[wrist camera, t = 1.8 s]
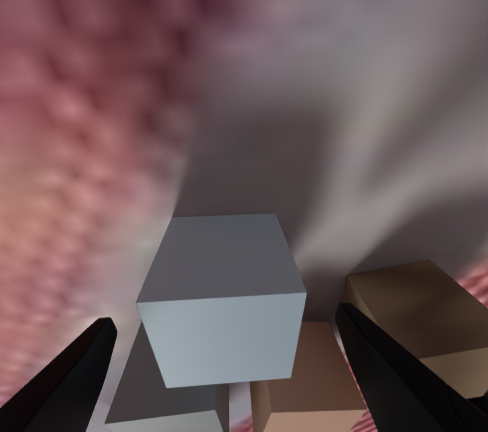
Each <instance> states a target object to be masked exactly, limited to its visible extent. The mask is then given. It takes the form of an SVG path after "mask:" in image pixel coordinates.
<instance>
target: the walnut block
mask: <svg viewBox="0 0 488 432" xmlns="http://www.w3.org/2000/svg"><path fill="white" fill-rule="evenodd" d="M345 302H350V303H352V304H353V305H354V306H355V307H357V308H358V309H359V310H360V311H361V312H363V313H364V314H365V315H366V316H367V317H369V318H370V319H371V320H372V321H373V322H374V323H376V324H377V325H378V326H379V327H380V328H382V329H383V330H384V331H385V332H386V333H388V334H389V335H390V336H391V337H392V338H394V339H395V340H396V341H397V342H398V343H400V344H401V345H402V346H403V347H404V348H405V349H407V350H408V351H409V352H410V353H411V354H413V355H414V356H415V357H416V358H417V359H419V360H420V361H421V362H422V363H423V364H425V365H426V366H427V367H428V368H429V369H431V370H432V371H433V372H434V373H435V374H436V375H438V376H439V377H440V378H441V379H442V380H444V381H445V382H446V384H448V385H450V386H451V387H452V388H453V389H454V390H456V391H457V392H458V393H459V394H460V395H462V396H463V397H464V398H465V399H468V398H474V397H480V396H483V395H484V394H485V392H486V391H487V390H488V308H487V307H486V306H484V305H483V304H482V303H481V302H480V301H478V300H477V299H476V298H475V297H474V296H472V295H471V294H470V293H469V292H468V291H466V290H465V289H464V288H463V287H462V286H460V285H459V284H458V283H457V282H456V281H454V280H453V279H452V278H451V277H450V276H448V275H447V274H446V273H445V272H444V271H442V270H441V269H440V268H439V267H438V266H436V265H435V264H434V263H433V262H432V261H430V260H427V261H421V262H416V263H410V264H405V265H400V266H394V267H389V268H383V269H378V270H372V271H367V272H362V273H356V274H351V275H346V288H345Z"/></svg>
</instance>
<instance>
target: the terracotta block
mask: <svg viewBox="0 0 488 432" xmlns="http://www.w3.org/2000/svg"><path fill="white" fill-rule="evenodd" d="M249 383H250V395H251V407H252V419H253V431H254V432H348V431H349V430H350V429H351V428H352V427H353V425H354V424H355V423H356V422H357V421H358V420H359V419H360V417H361V416H362V415H363V414H364V413H365V412H366V411H367V408H366V405H365V403H364V401H363V399H362V396H361V394H360V392H359V390H358V387H357V385H356V383H355V381H354V378H353V376H352V374H351V372H350V369H349V367H348V365H347V363H346V360H345V358H344V356H343V354H342V351H341V349H340V347H339V345H338V342H337V340H336V338H335V335H334V333H333V331H332V329H331V326H330V324H329V322H303V321H301V327H300V332H299V337H298V342H297V347H296V353H295V358H294V363H293V368H292V373H291V378H283V379H271V380H259V381H249Z"/></svg>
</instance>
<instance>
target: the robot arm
mask: <svg viewBox="0 0 488 432" xmlns="http://www.w3.org/2000/svg"><path fill="white" fill-rule="evenodd" d="M335 321H336V324H337V327H338V330H339V333H340V337H341V340H342V343H343V346H344V349H345V353H346V356H347V358H348V361H349V364H350V366H351V369H352V371H353V373H354V376H355V378H356V380H357V383H358V385H359V388H360V390H361V392H362V395H363V397H364V399H365V402H366V404H367V406H368V409H369V411H370V413H371V416H372V418H373V421H374V423H375V425H376V428H377V430H378V432H488V390H487V391H486V392H485V394H484V395H483V396H480V397H474V398H468V399H465V398H464V397H463V396H462V395H460V394H459V393H458V392H457V391H456V390H454V389H453V388H452V387H451V386H450V385H448V384H446V382H445V381H444V380H442V379H441V378H440V377H439V376H438V375H436V374H435V373H434V372H433V371H432V370H431V369H429V368H428V367H427V366H426V365H425V364H423V363H422V362H421V361H420V360H419V359H417V358H416V357H415V356H414V355H413V354H411V353H410V352H409V351H408V350H407V349H405V348H404V347H403V346H402V345H401V344H400V343H398V342H397V341H396V340H395V339H394V338H392V337H391V336H390V335H389V334H388V333H386V332H385V331H384V330H383V329H382V328H380V327H379V326H378V325H377V324H376V323H374V322H373V321H372V320H371V319H370V318H369V317H367V316H366V315H365V314H364V313H363V312H361V311H360V310H359V309H358V308H357V307H355V306H354V305H353V304H352V303H350V302H340V303H339V304H338V307H337V310H336V313H335ZM116 338H117V329H116V327H115V325H114V323H113V320H112V319H111V318H110V317H105V318H99V319H97V320H96V321H95V322H94V323H93V324H91V325H90V326H89V327H88V328H87V329H86V330H85V331H84V332H83V333H82V334H81V335H79V336H78V337H77V338H76V339H75V340H74V341H73V342H72V343H71V344H70V345H69V346H67V347H66V348H65V349H64V350H63V351H62V352H61V353H60V354H59V355H58V356H57V357H55V358H54V359H53V360H52V361H51V362H50V363H49V364H48V365H47V366H46V367H45V368H43V369H42V370H41V371H40V372H39V373H38V374H37V375H36V376H35V377H34V378H33V379H31V380H30V381H29V382H28V383H27V384H26V385H25V386H24V387H23V388H22V389H21V390H19V391H18V392H17V393H16V394H15V395H14V396H13V397H12V398H11V399H10V400H8V401H7V402H6V403H5V404H4V405H3V406H2V407H1V408H0V432H86V429H87V427H88V424H89V421H90V419H91V416H92V413H93V411H94V408H95V405H96V403H97V400H98V397H99V395H100V392H101V389H102V387H103V384H104V381H105V378H106V374H107V371H108V367H109V363H110V360H111V356H112V352H113V349H114V345H115V341H116Z"/></svg>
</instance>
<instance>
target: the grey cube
mask: <svg viewBox="0 0 488 432" xmlns="http://www.w3.org/2000/svg"><path fill="white" fill-rule="evenodd" d="M306 295H307V291H306V289H305V286H304V284H303V281H302V279H301V276H300V274H299V271H298V269H297V266H296V264H295V261H294V259H293V256H292V254H291V251H290V249H289V246H288V244H287V241H286V239H285V236H284V233H283V231H282V228H281V226H280V223H279V221H278V218H277V216H276V213H269V214H244V215H219V216H193V217H172V218H171V221H170V223H169V225H168V228H167V230H166V232H165V235H164V237H163V239H162V242H161V244H160V247H159V249H158V251H157V254H156V256H155V258H154V261H153V263H152V266H151V268H150V270H149V273H148V275H147V277H146V280H145V282H144V284H143V287H142V289H141V292H140V294H139V296H138V299H137V301H136V305H137V308H138V311H139V313H140V316H141V319H142V322H143V324H144V327H145V330H146V333H147V336H148V338H149V341H150V344H151V347H152V349H153V352H154V355H155V358H156V360H157V363H158V366H159V369H160V371H161V374H162V377H163V380H164V382H165V385H166V388H174V387H186V386H198V385H210V384H222V383H235V382H247V381H259V380H271V379H283V378H291V373H292V368H293V363H294V358H295V353H296V347H297V342H298V337H299V332H300V327H301V321H302V316H303V311H304V306H305V301H306Z"/></svg>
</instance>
